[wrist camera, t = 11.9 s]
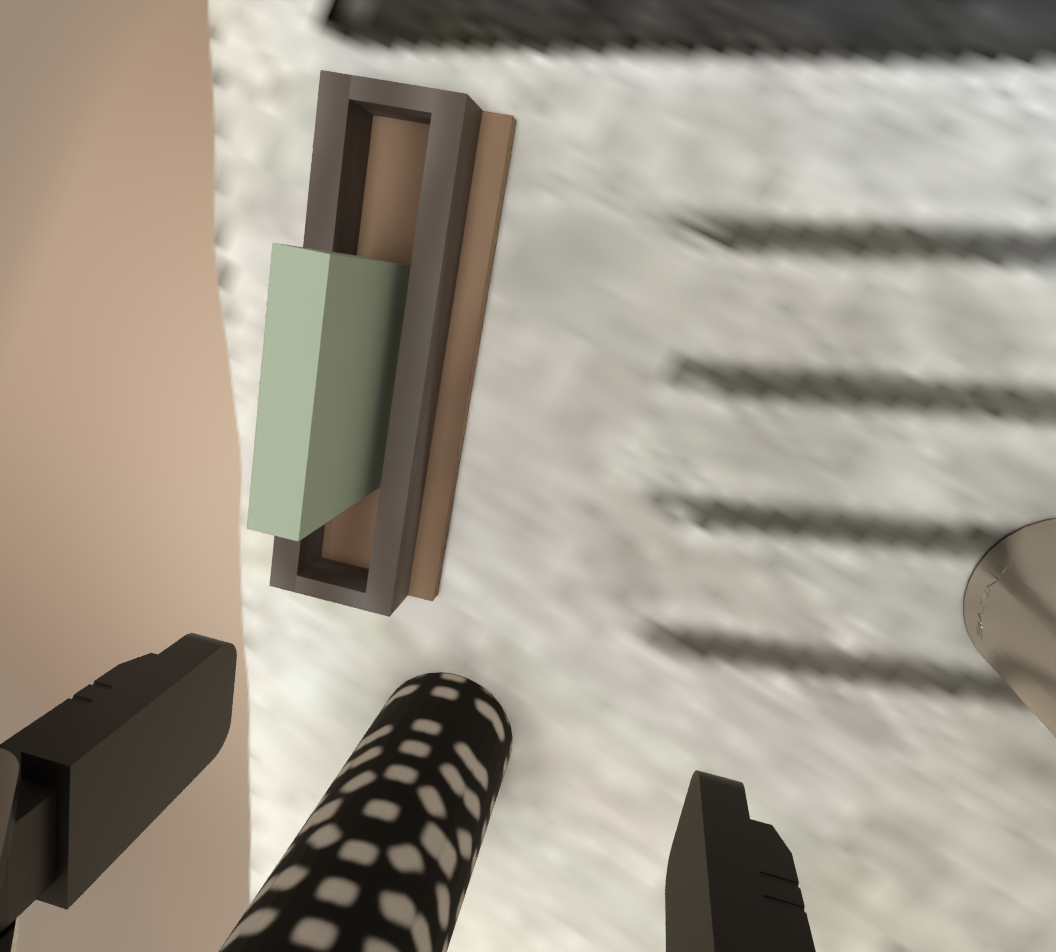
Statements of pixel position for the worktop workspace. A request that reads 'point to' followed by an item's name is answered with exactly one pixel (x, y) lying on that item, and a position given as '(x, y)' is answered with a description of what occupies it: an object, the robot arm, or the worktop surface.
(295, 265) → the door panel
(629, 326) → the worktop surface
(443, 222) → the door track
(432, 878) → the spotted tube
